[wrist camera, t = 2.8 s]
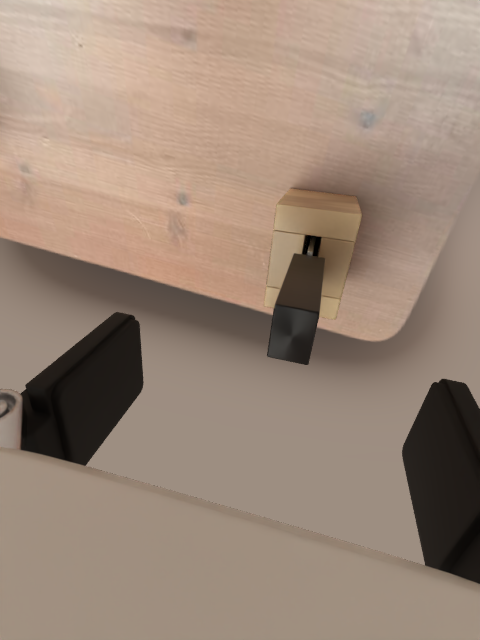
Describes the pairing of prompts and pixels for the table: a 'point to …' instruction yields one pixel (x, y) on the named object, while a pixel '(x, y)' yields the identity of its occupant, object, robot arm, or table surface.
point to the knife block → (317, 220)
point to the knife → (297, 308)
